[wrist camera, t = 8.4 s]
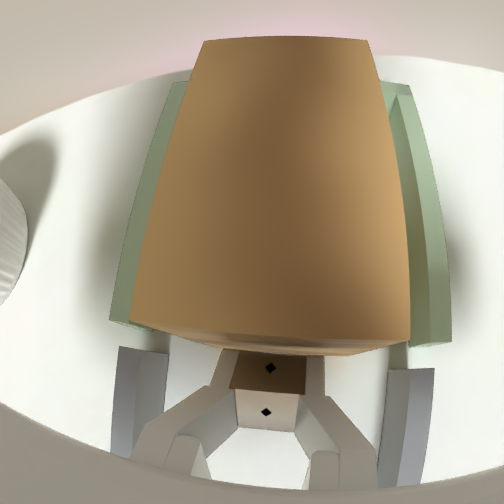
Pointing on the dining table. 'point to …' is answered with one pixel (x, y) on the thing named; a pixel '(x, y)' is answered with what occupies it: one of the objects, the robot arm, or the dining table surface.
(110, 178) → the dining table surface
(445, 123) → the dining table surface
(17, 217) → the ramekin
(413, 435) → the tunnel rails
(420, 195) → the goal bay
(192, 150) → the oak brick
